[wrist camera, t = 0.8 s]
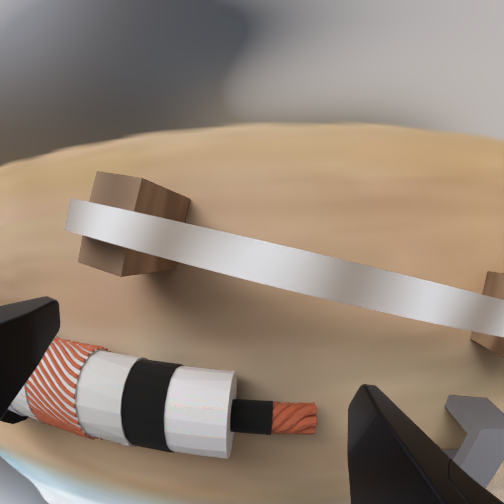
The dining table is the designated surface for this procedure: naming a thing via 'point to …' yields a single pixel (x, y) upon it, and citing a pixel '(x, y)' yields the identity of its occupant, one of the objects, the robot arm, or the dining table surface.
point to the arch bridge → (262, 260)
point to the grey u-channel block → (478, 437)
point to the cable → (148, 402)
